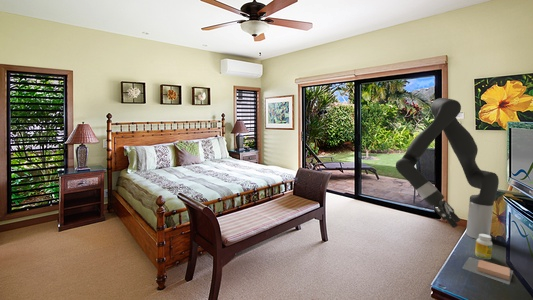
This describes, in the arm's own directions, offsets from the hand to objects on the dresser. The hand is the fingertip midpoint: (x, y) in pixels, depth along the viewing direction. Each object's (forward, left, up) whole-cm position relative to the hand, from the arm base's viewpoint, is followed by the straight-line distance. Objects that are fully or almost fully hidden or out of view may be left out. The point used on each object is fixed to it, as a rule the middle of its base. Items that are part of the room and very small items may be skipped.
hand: (457, 224), depth 117 cm
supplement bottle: (-3, +9, -12) cm, 15 cm away
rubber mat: (+8, +15, -12) cm, 21 cm away
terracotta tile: (+9, +13, -10) cm, 19 cm away
